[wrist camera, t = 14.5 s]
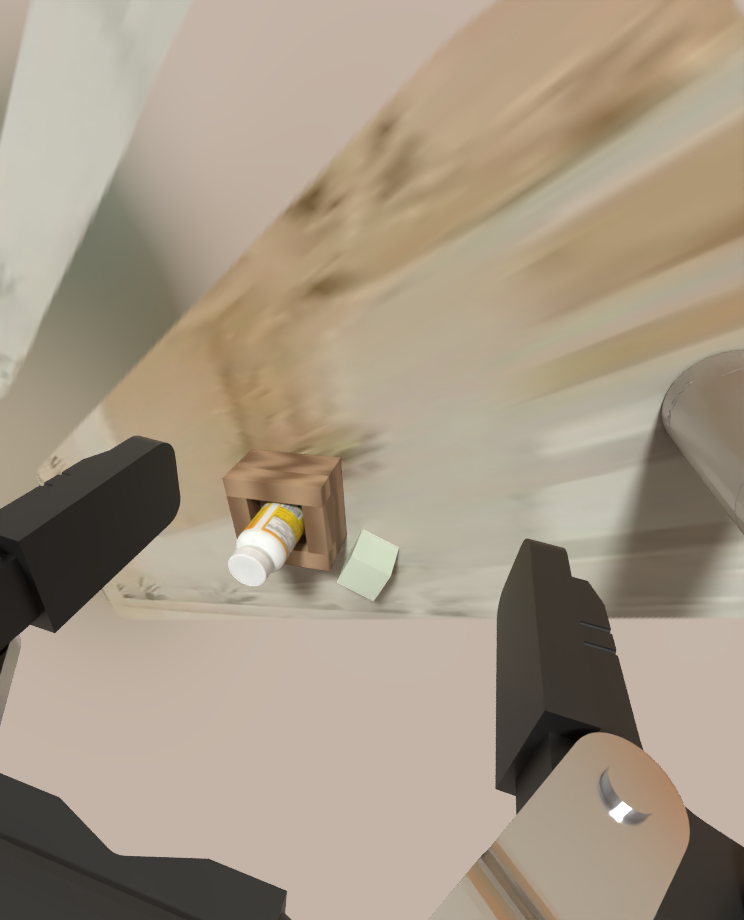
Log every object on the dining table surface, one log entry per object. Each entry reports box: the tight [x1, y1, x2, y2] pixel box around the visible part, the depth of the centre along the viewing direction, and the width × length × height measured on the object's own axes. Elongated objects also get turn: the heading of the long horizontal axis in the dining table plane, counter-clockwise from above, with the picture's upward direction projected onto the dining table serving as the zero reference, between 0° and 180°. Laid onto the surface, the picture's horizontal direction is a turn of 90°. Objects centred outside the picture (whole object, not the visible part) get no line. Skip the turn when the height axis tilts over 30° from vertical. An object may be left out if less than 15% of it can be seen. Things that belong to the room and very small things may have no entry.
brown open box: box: [223, 450, 347, 571], centre depth 50 cm, size 11×11×6 cm
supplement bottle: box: [228, 501, 305, 586], centre depth 45 cm, size 5×5×10 cm
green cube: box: [337, 530, 399, 601], centre depth 53 cm, size 5×5×5 cm
